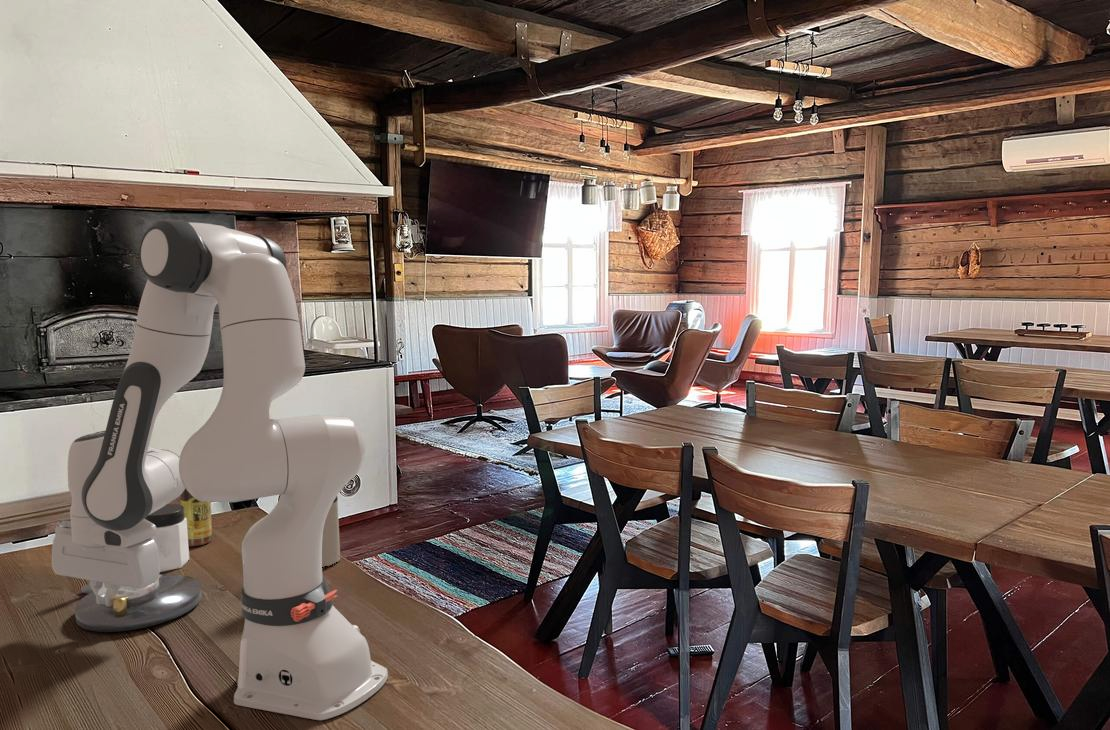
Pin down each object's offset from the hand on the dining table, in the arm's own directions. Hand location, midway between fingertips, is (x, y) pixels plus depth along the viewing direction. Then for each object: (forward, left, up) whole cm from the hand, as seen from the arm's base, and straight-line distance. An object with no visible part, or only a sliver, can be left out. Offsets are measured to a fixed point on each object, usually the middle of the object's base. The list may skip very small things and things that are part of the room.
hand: (106, 604), depth 130 cm
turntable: (+2, -7, -4) cm, 9 cm away
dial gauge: (+16, -9, -4) cm, 19 cm away
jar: (+18, -23, -5) cm, 30 cm away
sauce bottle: (+24, -35, -5) cm, 43 cm away
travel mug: (-10, -39, -5) cm, 41 cm away
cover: (+3, -6, -2) cm, 7 cm away
